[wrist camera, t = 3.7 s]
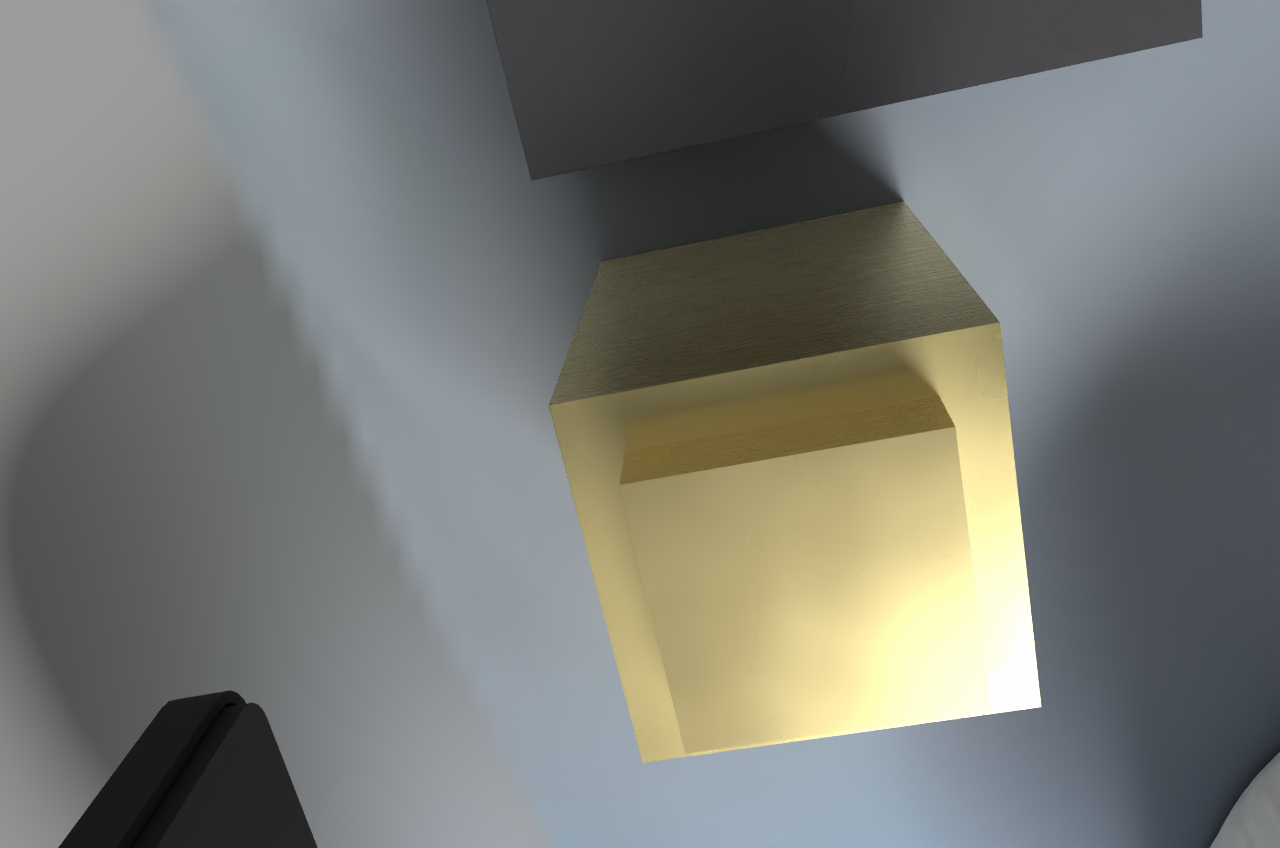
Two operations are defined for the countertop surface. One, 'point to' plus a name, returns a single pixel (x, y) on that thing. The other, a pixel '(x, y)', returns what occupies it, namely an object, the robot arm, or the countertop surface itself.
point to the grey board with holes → (778, 62)
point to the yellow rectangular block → (798, 486)
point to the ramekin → (1255, 813)
